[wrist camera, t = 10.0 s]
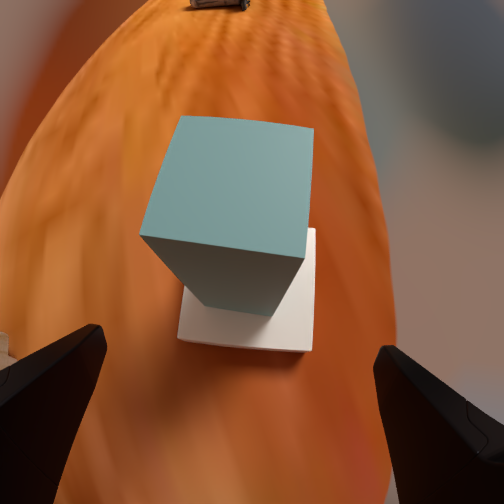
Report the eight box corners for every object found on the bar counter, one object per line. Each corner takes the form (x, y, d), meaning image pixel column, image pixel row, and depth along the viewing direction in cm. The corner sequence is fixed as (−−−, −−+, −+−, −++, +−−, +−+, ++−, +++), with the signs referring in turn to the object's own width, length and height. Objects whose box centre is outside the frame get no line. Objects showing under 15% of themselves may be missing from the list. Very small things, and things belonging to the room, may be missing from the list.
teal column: (272, 316, 19) (304, 258, 8) (204, 305, 20) (138, 234, 8) (280, 252, 21) (313, 128, 9) (216, 242, 21) (181, 115, 9)
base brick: (303, 352, 21) (311, 350, 19) (185, 341, 22) (176, 337, 19) (307, 244, 25) (315, 228, 22) (201, 234, 25) (196, 218, 22)
